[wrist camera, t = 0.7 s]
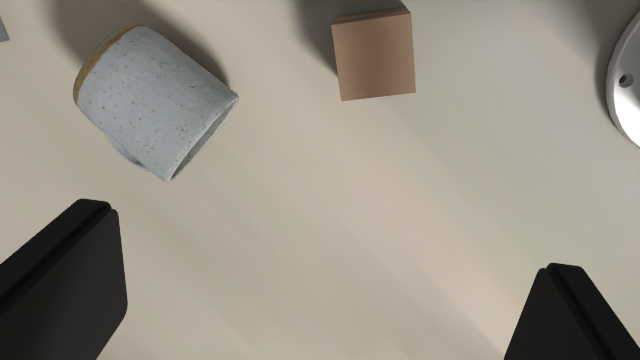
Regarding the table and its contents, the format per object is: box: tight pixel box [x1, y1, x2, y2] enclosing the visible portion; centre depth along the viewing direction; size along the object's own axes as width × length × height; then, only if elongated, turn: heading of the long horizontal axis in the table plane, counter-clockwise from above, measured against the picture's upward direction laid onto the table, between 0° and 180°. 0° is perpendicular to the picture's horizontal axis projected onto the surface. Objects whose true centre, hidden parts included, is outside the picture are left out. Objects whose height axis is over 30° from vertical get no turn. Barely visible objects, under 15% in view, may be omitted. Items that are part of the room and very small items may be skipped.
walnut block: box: [331, 7, 416, 101], centre depth 29 cm, size 4×4×4 cm
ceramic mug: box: [73, 25, 239, 183], centre depth 31 cm, size 11×8×8 cm
